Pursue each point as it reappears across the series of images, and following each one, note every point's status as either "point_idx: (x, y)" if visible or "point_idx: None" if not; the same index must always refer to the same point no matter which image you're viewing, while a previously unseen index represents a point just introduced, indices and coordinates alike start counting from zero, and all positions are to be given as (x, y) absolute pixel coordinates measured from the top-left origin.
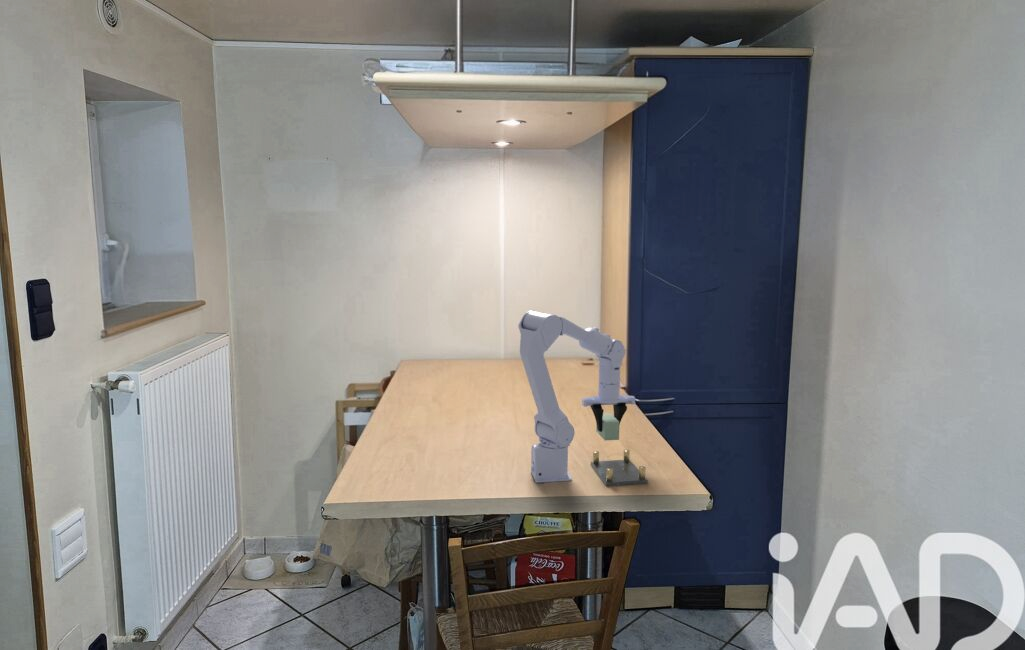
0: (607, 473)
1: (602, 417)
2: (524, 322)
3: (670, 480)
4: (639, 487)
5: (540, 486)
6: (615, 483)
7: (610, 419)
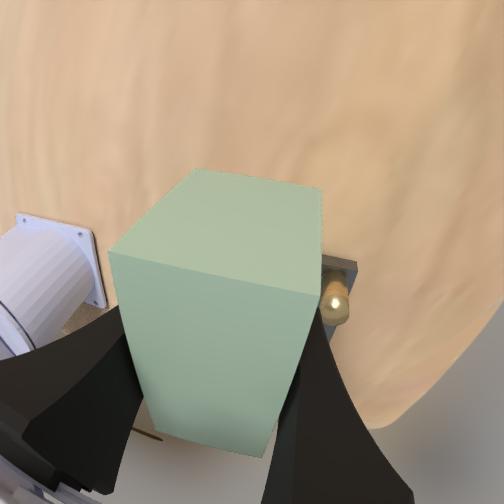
0: None
1: (132, 424)
2: None
3: (378, 389)
4: None
5: None
6: None
7: (214, 420)
